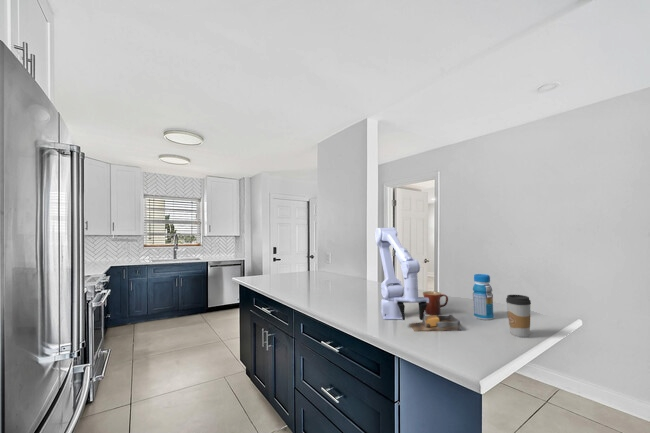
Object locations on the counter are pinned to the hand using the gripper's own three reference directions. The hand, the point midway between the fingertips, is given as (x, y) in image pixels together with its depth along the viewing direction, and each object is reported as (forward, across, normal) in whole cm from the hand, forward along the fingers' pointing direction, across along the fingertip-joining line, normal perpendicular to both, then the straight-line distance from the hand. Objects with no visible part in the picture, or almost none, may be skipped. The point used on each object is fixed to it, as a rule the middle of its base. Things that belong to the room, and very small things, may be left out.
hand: (412, 319), depth 128 cm
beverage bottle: (+4, +36, +13) cm, 39 cm away
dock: (+4, +9, 0) cm, 10 cm away
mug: (+4, +16, +20) cm, 26 cm away
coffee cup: (+4, +40, -10) cm, 41 cm away
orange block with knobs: (+3, +8, 0) cm, 9 cm away
